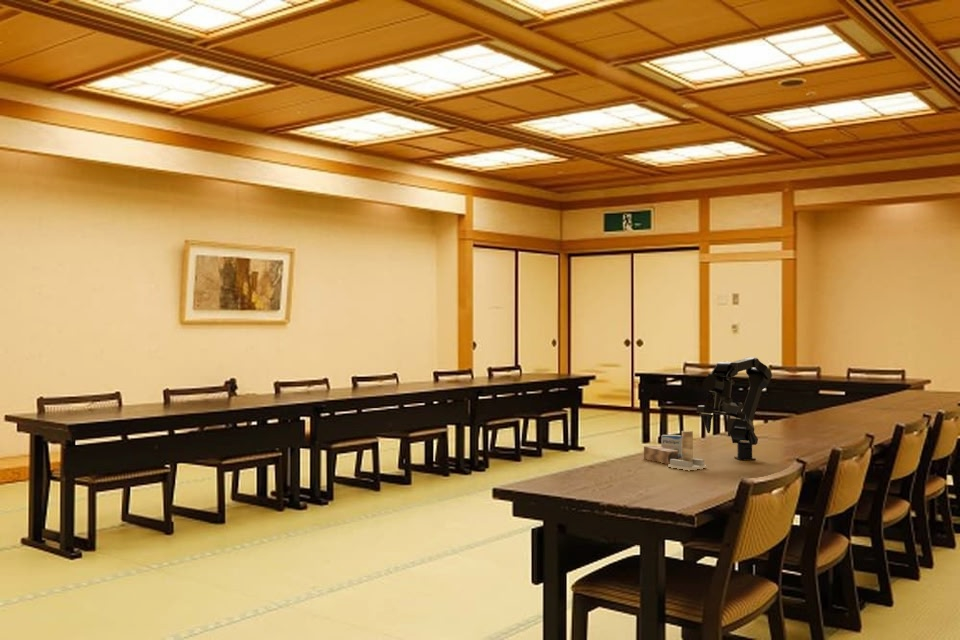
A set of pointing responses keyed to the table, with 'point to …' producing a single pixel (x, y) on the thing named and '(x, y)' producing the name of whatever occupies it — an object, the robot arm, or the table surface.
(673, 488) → the table surface
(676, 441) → the medicine box
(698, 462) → the cradle
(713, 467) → the table surface
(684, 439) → the dowel
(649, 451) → the beam
